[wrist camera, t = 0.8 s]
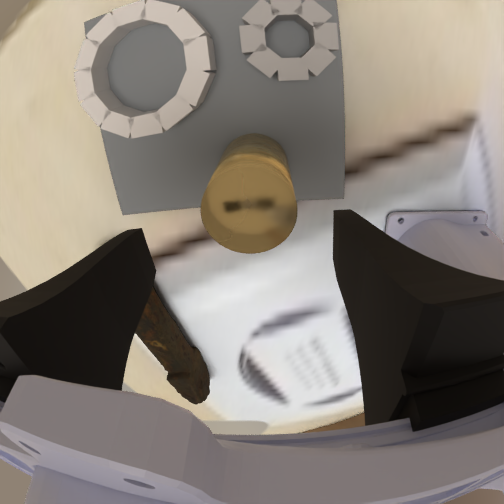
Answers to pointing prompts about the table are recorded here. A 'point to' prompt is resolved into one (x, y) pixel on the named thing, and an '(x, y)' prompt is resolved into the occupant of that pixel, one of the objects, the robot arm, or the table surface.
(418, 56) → the table surface
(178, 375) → the brown wooden stick
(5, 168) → the table surface
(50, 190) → the table surface
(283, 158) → the round peg
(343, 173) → the fitting board
